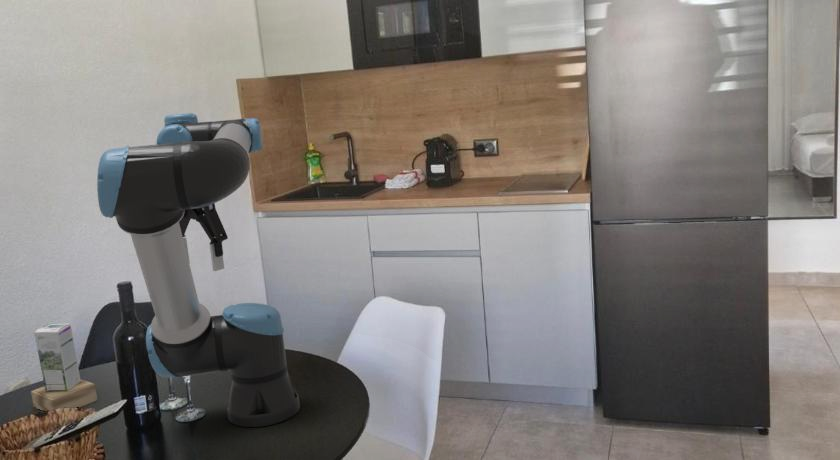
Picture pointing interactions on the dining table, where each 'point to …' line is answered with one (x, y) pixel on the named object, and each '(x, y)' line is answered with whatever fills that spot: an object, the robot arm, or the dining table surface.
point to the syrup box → (57, 357)
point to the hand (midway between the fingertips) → (201, 267)
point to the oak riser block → (64, 397)
